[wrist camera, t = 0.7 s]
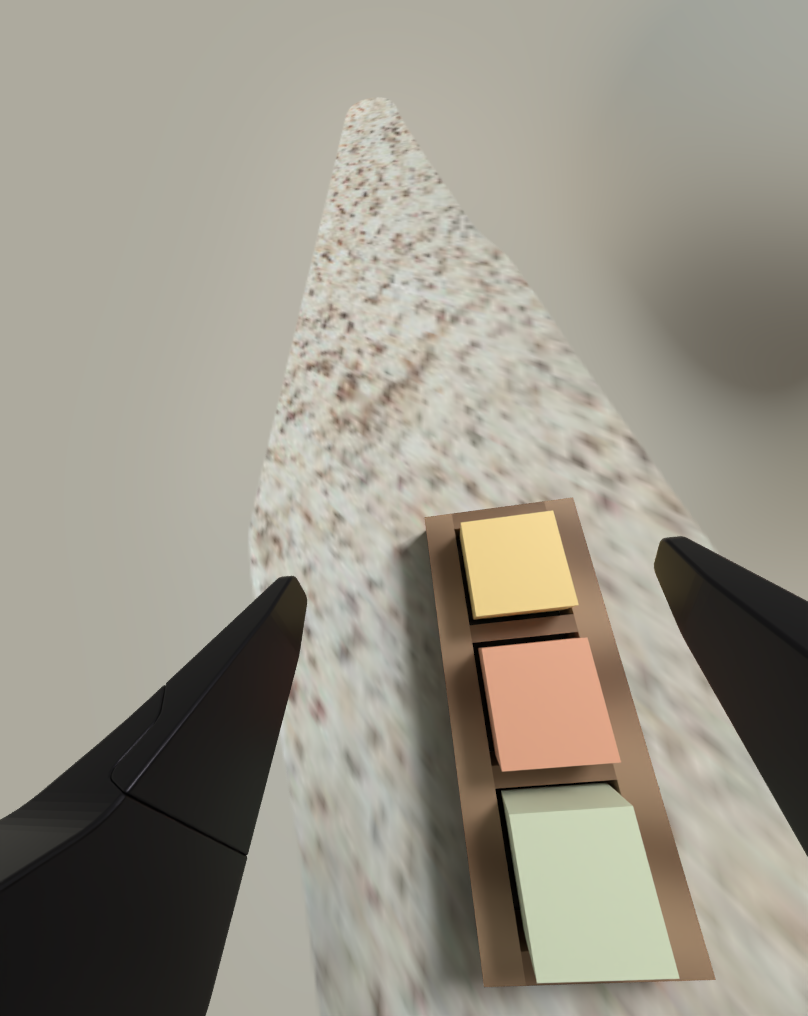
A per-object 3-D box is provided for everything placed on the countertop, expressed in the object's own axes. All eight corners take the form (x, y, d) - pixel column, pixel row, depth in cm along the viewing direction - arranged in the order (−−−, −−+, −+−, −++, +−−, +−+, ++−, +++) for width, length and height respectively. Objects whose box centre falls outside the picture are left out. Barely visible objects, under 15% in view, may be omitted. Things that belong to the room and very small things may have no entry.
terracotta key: (597, 745, 18) (621, 762, 15) (495, 754, 18) (502, 771, 16) (570, 638, 20) (587, 637, 17) (477, 648, 20) (481, 648, 17)
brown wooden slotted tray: (677, 931, 16) (715, 979, 14) (479, 940, 17) (483, 986, 15) (561, 511, 24) (573, 497, 22) (427, 529, 25) (424, 517, 22)
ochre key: (562, 610, 20) (578, 605, 18) (473, 620, 20) (476, 616, 18) (541, 525, 22) (553, 510, 19) (459, 536, 22) (460, 522, 20)
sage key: (642, 924, 15) (679, 978, 13) (523, 929, 16) (537, 983, 13) (606, 782, 17) (633, 806, 15) (500, 790, 17) (509, 814, 15)
